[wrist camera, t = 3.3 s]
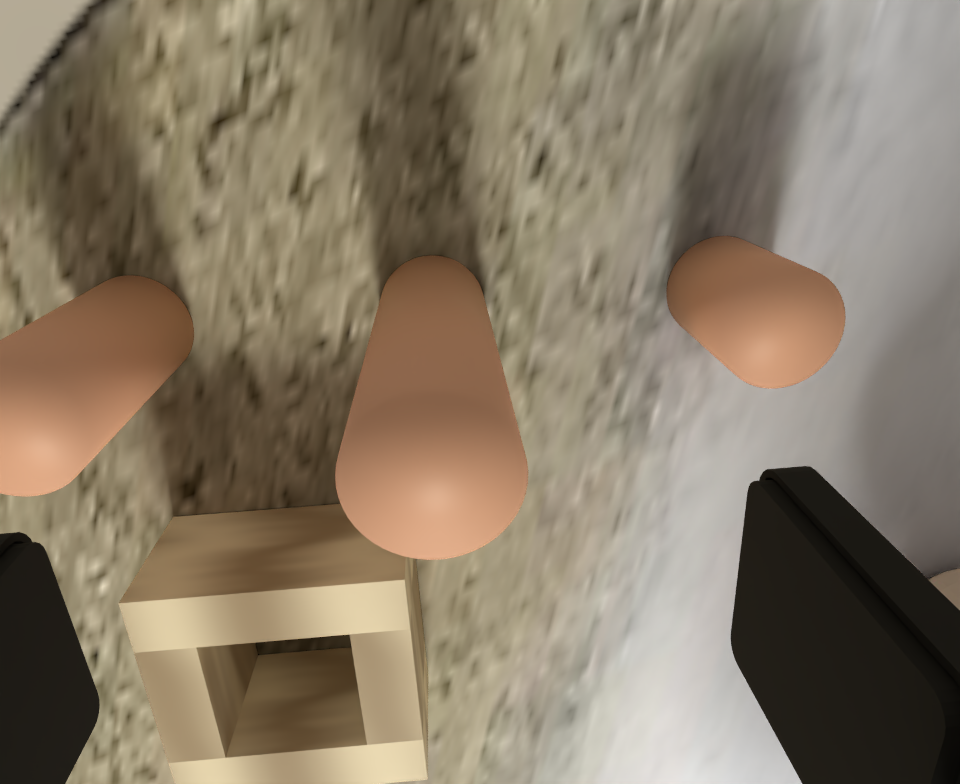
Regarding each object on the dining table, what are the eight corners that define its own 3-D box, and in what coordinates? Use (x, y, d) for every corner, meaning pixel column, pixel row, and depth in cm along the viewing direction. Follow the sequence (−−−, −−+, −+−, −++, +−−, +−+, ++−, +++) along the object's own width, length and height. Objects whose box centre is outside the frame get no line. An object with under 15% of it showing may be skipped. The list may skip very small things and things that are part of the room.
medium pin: (180, 271, 23) (65, 352, 16) (203, 372, 25) (107, 490, 17) (70, 279, 23) (-100, 364, 16) (99, 380, 24) (-43, 502, 17)
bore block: (409, 498, 27) (404, 579, 22) (428, 677, 30) (427, 779, 26) (173, 516, 27) (118, 603, 22) (219, 695, 30) (180, 802, 25)
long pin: (482, 251, 24) (525, 383, 12) (487, 352, 25) (530, 552, 14) (374, 258, 23) (322, 398, 12) (386, 359, 25) (347, 566, 14)
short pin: (773, 232, 24) (853, 263, 19) (762, 332, 25) (835, 383, 21) (669, 239, 24) (726, 272, 19) (664, 339, 25) (716, 392, 21)
